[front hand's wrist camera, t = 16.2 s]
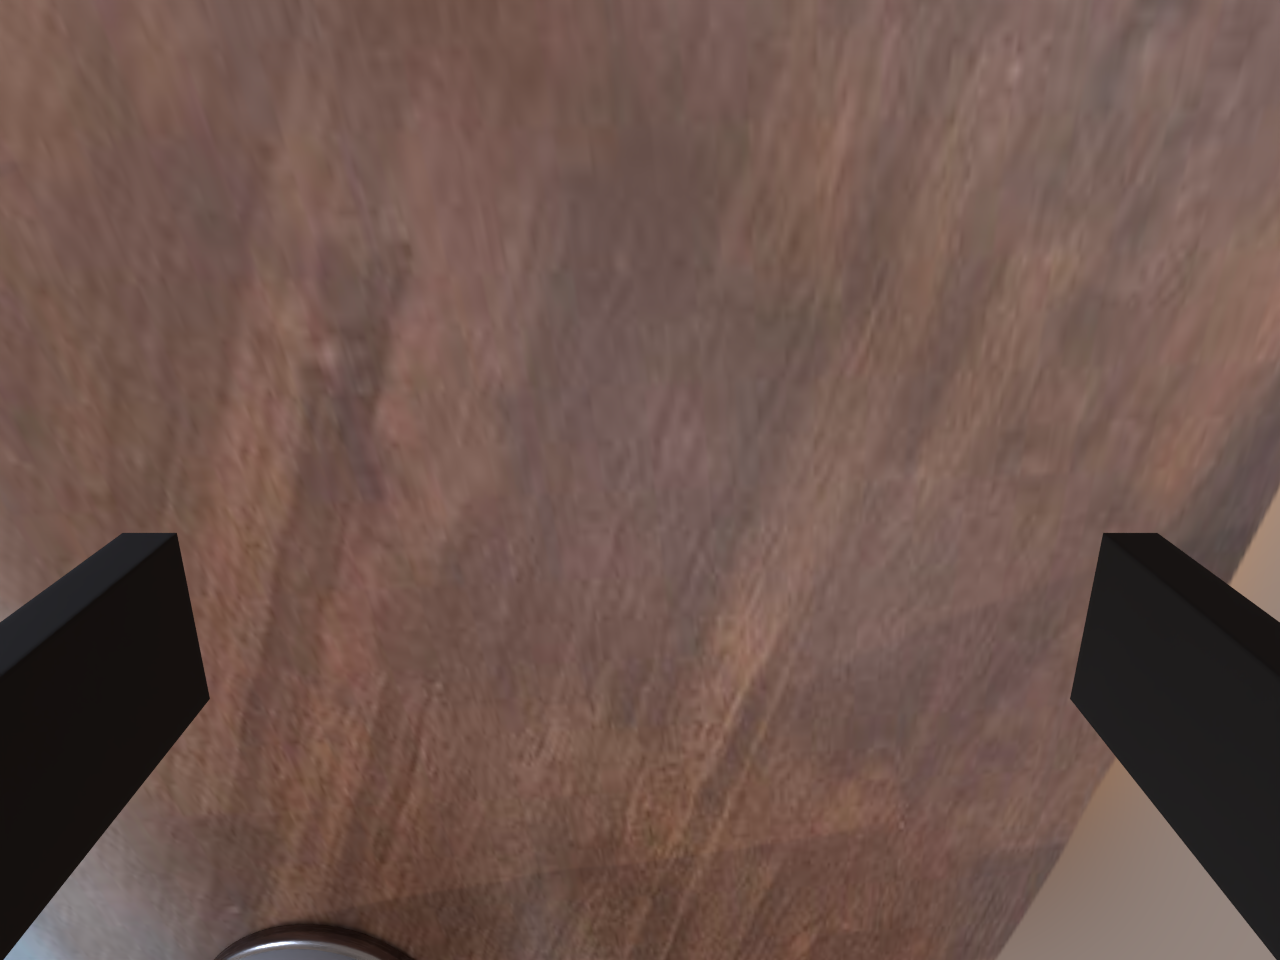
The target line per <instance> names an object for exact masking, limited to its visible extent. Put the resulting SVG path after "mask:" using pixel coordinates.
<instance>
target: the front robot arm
mask: <svg viewBox="0 0 1280 960" xmlns="http://www.w3.org/2000/svg"><path fill="white" fill-rule="evenodd" d="M209 699H210V697H209V692H208V687H207V682H206V677H205V672H204V667H203V662H202V657H201V652H200V647H199V642H198V637H197V632H196V627H195V622H194V617H193V612H192V607H191V602H190V597H189V592H188V587H187V582H186V577H185V572H184V567H183V562H182V557H181V552H180V547H179V542H178V537H177V533H122V534H121V535H119V536H118V537H117V538H115V539H114V540H112V541H111V542H110V543H108V544H107V545H106V546H104V547H103V548H102V549H100V550H99V551H97V552H96V553H95V554H93V555H92V556H91V557H89V558H88V559H86V560H85V561H84V562H82V563H81V564H80V565H78V566H77V567H76V568H74V569H73V570H71V571H70V572H69V573H67V574H66V575H65V576H63V577H62V578H60V579H59V580H58V581H56V582H55V583H54V584H52V585H51V586H50V587H48V588H47V589H45V590H44V591H43V592H41V593H40V594H39V595H37V596H36V597H34V598H33V599H32V600H30V601H29V602H28V603H26V604H25V605H24V606H22V607H21V608H19V609H18V610H17V611H15V612H14V613H13V614H11V615H10V616H9V617H7V618H6V619H4V620H3V621H2V622H0V960H4V958H5V957H6V956H7V954H8V953H9V952H10V951H11V949H12V948H13V947H14V946H15V944H16V943H17V942H18V941H19V939H20V938H21V937H22V936H23V934H24V933H25V932H26V930H27V929H28V928H29V927H30V925H31V924H32V923H33V922H34V920H35V919H36V918H37V917H38V915H39V914H40V913H41V912H42V910H43V909H44V908H45V906H46V905H47V904H48V903H49V901H50V900H51V899H52V898H53V896H54V895H55V894H56V893H57V891H58V890H59V889H60V887H61V886H62V885H63V884H64V882H65V881H66V880H67V879H68V877H69V876H70V875H71V874H72V872H73V871H74V870H75V869H76V867H77V866H78V865H79V863H80V862H81V861H82V860H83V858H84V857H85V856H86V855H87V853H88V852H89V851H90V850H91V848H92V847H93V846H94V845H95V843H96V842H97V841H98V839H99V838H100V837H101V836H102V834H103V833H104V832H105V831H106V829H107V828H108V827H109V826H110V824H111V823H112V822H113V820H114V819H115V818H116V817H117V815H118V814H119V813H120V812H121V810H122V809H123V808H124V807H125V805H126V804H127V803H128V802H129V800H130V799H131V798H132V796H133V795H134V794H135V793H136V791H137V790H138V789H139V788H140V786H141V785H142V784H143V783H144V781H145V780H146V779H147V778H148V776H149V775H150V774H151V772H152V771H153V770H154V769H155V767H156V766H157V765H158V764H159V762H160V761H161V760H162V759H163V757H164V756H165V755H166V753H167V752H168V751H169V750H170V748H171V747H172V746H173V745H174V743H175V742H176V741H177V740H178V738H179V737H180V736H181V735H182V733H183V732H184V731H185V729H186V728H187V727H188V726H189V724H190V723H191V722H192V721H193V719H194V718H195V717H196V716H197V714H198V713H199V712H200V711H201V709H202V708H203V707H204V705H205V704H206V703H207V702H208V700H209ZM1070 699H1071V700H1072V702H1073V703H1074V704H1075V705H1076V707H1077V708H1078V709H1079V711H1080V712H1081V713H1082V714H1083V716H1084V717H1085V718H1086V719H1087V721H1088V722H1089V723H1090V724H1091V726H1092V727H1093V728H1094V729H1095V731H1096V732H1097V733H1098V735H1099V736H1100V737H1101V738H1102V740H1103V741H1104V742H1105V743H1106V745H1107V746H1108V747H1109V748H1110V750H1111V751H1112V752H1113V753H1114V755H1115V756H1116V757H1117V759H1118V760H1119V761H1120V762H1121V764H1122V765H1123V766H1124V767H1125V769H1126V770H1127V771H1128V772H1129V774H1130V775H1131V776H1132V778H1133V779H1134V780H1135V781H1136V783H1137V784H1138V785H1139V786H1140V788H1141V789H1142V790H1143V791H1144V793H1145V794H1146V795H1147V796H1148V798H1149V799H1150V800H1151V802H1152V803H1153V804H1154V805H1155V807H1156V808H1157V809H1158V810H1159V812H1160V813H1161V814H1162V815H1163V817H1164V818H1165V819H1166V820H1167V822H1168V823H1169V824H1170V826H1171V827H1172V828H1173V829H1174V831H1175V832H1176V833H1177V834H1178V836H1179V837H1180V838H1181V839H1182V841H1183V842H1184V843H1185V845H1186V846H1187V847H1188V848H1189V850H1190V851H1191V852H1192V853H1193V855H1194V856H1195V857H1196V858H1197V860H1198V861H1199V862H1200V863H1201V865H1202V866H1203V867H1204V869H1205V870H1206V871H1207V872H1208V874H1209V875H1210V876H1211V877H1212V879H1213V880H1214V881H1215V882H1216V884H1217V885H1218V886H1219V887H1220V889H1221V890H1222V891H1223V893H1224V894H1225V895H1226V896H1227V898H1228V899H1229V900H1230V901H1231V903H1232V904H1233V905H1234V906H1235V908H1236V909H1237V910H1238V912H1239V913H1240V914H1241V915H1242V917H1243V918H1244V919H1245V920H1246V922H1247V923H1248V924H1249V925H1250V927H1251V928H1252V929H1253V930H1254V932H1255V933H1256V934H1257V936H1258V937H1259V938H1260V939H1261V940H1262V942H1263V943H1264V944H1265V946H1266V947H1267V948H1268V949H1269V951H1270V952H1271V953H1272V954H1273V956H1274V957H1275V958H1276V959H1277V960H1280V622H1278V621H1277V620H1276V619H1274V618H1273V617H1271V616H1270V615H1269V614H1267V613H1266V612H1265V611H1263V610H1262V609H1261V608H1259V607H1258V606H1256V605H1255V604H1254V603H1252V602H1251V601H1250V600H1248V599H1247V598H1245V597H1244V596H1243V595H1241V594H1240V593H1239V592H1237V591H1236V590H1235V589H1233V588H1232V587H1230V586H1229V585H1228V584H1226V583H1225V582H1224V581H1222V580H1221V579H1220V578H1218V577H1217V576H1215V575H1214V574H1213V573H1211V572H1210V571H1209V570H1207V569H1206V568H1204V567H1203V566H1202V565H1200V564H1199V563H1198V562H1196V561H1195V560H1194V559H1192V558H1191V557H1189V556H1188V555H1187V554H1185V553H1184V552H1183V551H1181V550H1180V549H1178V548H1177V547H1176V546H1174V545H1173V544H1172V543H1170V542H1169V541H1168V540H1166V539H1165V538H1163V537H1162V536H1161V535H1159V534H1158V533H1103V537H1102V542H1101V547H1100V552H1099V557H1098V562H1097V567H1096V572H1095V577H1094V582H1093V587H1092V592H1091V597H1090V602H1089V607H1088V612H1087V617H1086V622H1085V627H1084V632H1083V637H1082V642H1081V647H1080V652H1079V657H1078V662H1077V667H1076V672H1075V677H1074V682H1073V687H1072V692H1071V697H1070ZM214 960H410V959H409V958H408V957H407V956H405V955H404V954H402V953H401V952H400V951H398V950H396V949H395V948H393V947H391V946H390V945H388V944H386V943H384V942H382V941H380V940H378V939H375V938H373V937H370V936H368V935H365V934H362V933H359V932H356V931H352V930H348V929H344V928H339V927H333V926H326V925H315V924H299V925H287V926H280V927H274V928H270V929H265V930H262V931H259V932H256V933H253V934H251V935H249V936H246V937H244V938H242V939H240V940H238V941H236V942H235V943H233V944H232V945H230V946H229V947H227V948H226V949H225V950H223V951H222V952H221V953H220V954H219V955H218V956H217V957H216V958H215V959H214Z"/></svg>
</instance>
